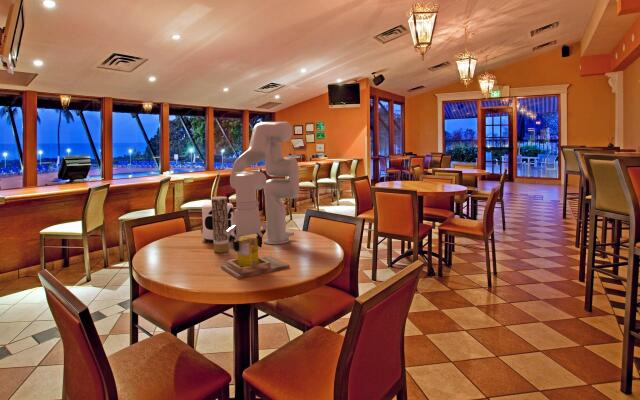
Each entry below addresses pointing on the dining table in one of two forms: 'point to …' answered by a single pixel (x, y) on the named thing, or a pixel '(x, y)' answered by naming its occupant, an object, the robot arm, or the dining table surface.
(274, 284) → the dining table surface
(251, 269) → the board
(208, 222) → the milk container
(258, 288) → the dining table surface
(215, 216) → the wooden log
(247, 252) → the supplement box
